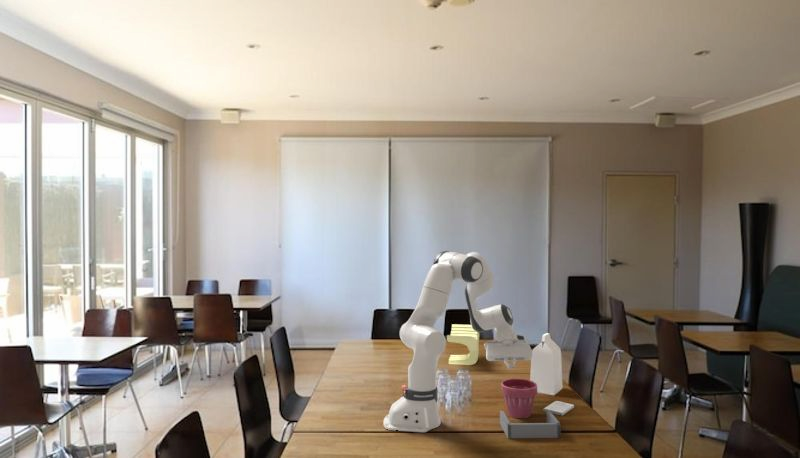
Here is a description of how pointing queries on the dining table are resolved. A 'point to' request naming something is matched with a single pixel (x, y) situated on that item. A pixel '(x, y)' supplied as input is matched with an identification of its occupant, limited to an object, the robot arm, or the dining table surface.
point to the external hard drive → (559, 407)
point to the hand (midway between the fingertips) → (511, 368)
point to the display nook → (532, 428)
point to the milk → (546, 366)
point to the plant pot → (519, 396)
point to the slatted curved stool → (468, 338)
